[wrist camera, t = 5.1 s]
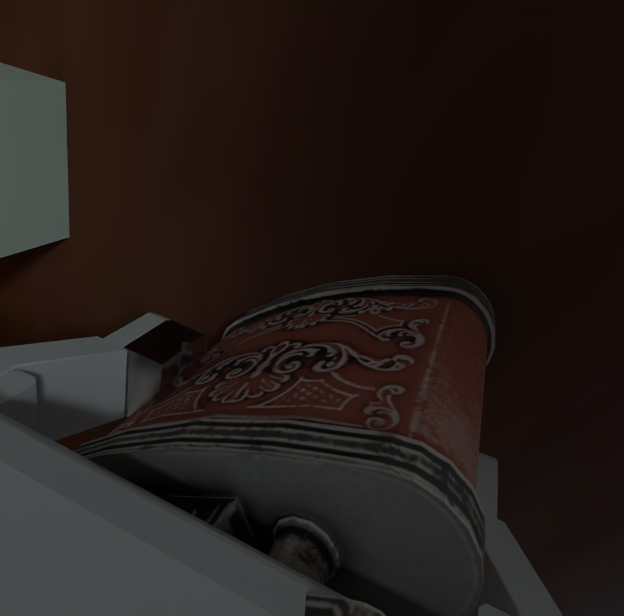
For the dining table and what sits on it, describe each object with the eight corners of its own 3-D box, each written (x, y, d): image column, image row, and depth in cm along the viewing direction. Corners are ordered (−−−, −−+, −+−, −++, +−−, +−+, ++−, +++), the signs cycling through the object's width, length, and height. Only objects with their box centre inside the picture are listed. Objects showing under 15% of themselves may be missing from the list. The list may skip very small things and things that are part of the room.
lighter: (254, 394, 16) (-40, 733, 7) (220, 303, 15) (-164, 570, 6) (506, 374, 12) (507, 978, 4) (482, 253, 11) (412, 693, 3)
